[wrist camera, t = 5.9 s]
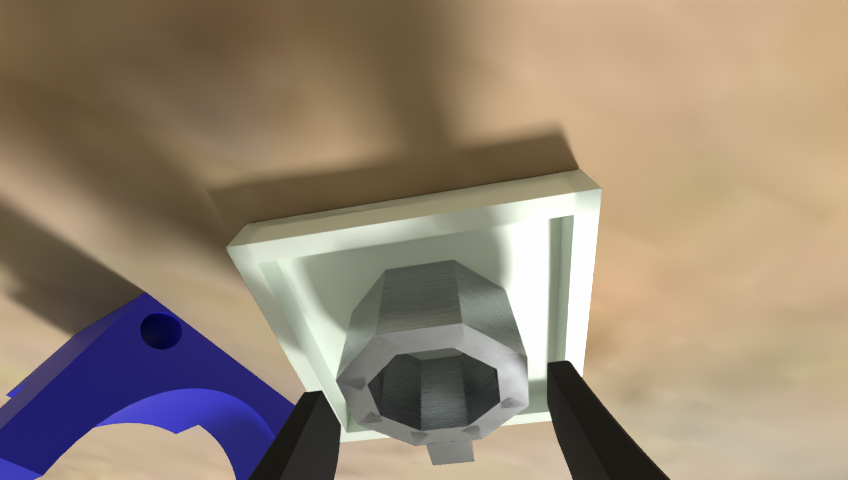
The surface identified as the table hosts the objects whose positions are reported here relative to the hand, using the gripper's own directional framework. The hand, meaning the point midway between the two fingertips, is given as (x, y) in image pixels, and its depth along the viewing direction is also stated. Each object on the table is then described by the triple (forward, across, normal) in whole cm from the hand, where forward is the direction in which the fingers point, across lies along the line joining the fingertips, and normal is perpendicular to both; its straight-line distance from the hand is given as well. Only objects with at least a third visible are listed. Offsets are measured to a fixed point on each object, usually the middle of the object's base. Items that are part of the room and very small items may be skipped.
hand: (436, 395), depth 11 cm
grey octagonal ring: (+3, 0, 0) cm, 3 cm away
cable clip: (+4, +11, +3) cm, 12 cm away
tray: (+3, 0, 0) cm, 3 cm away
